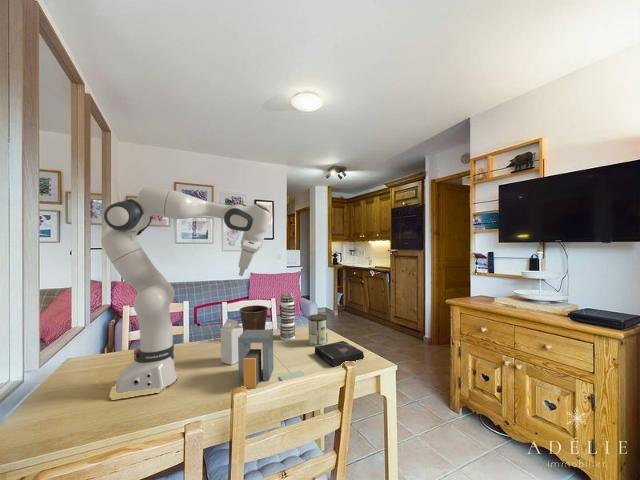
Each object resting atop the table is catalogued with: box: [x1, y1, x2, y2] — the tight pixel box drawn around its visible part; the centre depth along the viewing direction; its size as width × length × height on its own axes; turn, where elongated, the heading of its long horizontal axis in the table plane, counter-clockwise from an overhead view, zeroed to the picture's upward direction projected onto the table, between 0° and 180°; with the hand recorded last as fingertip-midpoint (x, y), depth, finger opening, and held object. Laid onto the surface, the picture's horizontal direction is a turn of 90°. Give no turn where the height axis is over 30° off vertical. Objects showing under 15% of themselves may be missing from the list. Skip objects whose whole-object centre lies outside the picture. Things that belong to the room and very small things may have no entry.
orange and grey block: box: [243, 348, 263, 389], centre depth 114 cm, size 14×4×11 cm, turn 179°
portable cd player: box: [314, 340, 365, 368], centre depth 134 cm, size 16×17×4 cm
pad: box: [278, 370, 307, 382], centre depth 113 cm, size 10×10×1 cm
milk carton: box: [220, 318, 243, 366], centre depth 131 cm, size 7×7×19 cm
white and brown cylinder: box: [278, 292, 296, 341], centre depth 162 cm, size 9×9×25 cm
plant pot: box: [239, 304, 269, 332], centre depth 165 cm, size 16×16×16 cm
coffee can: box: [308, 313, 329, 347], centre depth 153 cm, size 10×10×14 cm
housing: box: [237, 329, 274, 382], centre depth 118 cm, size 10×12×17 cm
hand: (242, 271), depth 124 cm, fingers open, 8 cm apart
